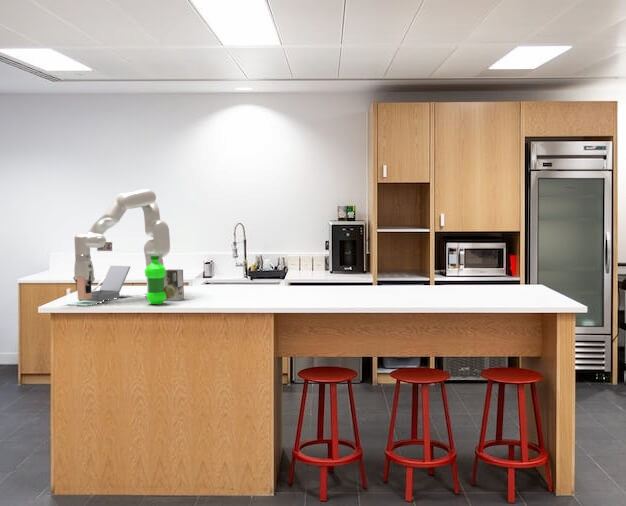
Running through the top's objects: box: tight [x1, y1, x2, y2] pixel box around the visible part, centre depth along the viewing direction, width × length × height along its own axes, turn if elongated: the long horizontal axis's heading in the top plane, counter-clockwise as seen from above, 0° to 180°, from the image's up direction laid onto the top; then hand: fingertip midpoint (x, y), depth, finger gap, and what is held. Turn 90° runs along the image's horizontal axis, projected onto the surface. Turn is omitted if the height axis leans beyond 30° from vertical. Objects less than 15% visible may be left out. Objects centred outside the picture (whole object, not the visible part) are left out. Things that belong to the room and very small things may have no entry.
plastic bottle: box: [144, 256, 167, 305], centre depth 371 cm, size 10×10×25 cm
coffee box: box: [164, 268, 185, 301], centre depth 386 cm, size 9×6×16 cm
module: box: [76, 277, 93, 300], centre depth 377 cm, size 5×5×13 cm
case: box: [78, 265, 131, 301], centre depth 395 cm, size 16×25×17 cm, turn 150°
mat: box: [66, 300, 103, 307], centre depth 378 cm, size 14×14×1 cm
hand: (84, 292), depth 377 cm, fingers closed on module, 5 cm apart
